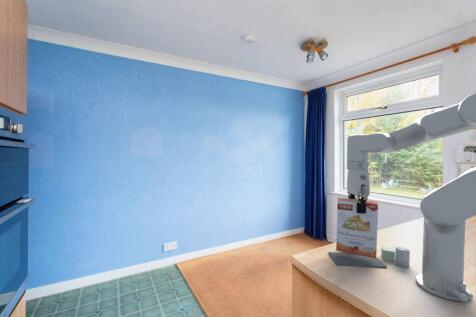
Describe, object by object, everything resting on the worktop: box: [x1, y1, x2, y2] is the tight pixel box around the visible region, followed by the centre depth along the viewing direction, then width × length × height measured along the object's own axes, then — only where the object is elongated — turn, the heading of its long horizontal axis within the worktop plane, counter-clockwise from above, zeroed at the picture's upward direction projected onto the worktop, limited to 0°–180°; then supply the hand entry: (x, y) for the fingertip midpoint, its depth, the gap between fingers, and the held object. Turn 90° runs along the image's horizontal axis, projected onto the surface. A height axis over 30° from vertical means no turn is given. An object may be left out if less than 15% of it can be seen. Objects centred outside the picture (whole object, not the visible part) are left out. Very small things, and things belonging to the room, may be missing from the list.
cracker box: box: [335, 197, 379, 258], centre depth 87 cm, size 14×6×21 cm, turn 63°
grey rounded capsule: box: [394, 246, 411, 269], centre depth 84 cm, size 4×4×6 cm
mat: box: [328, 251, 388, 269], centre depth 87 cm, size 10×18×1 cm, turn 84°
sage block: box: [380, 246, 395, 263], centre depth 89 cm, size 4×4×4 cm
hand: (356, 210), depth 87 cm, fingers closed on cracker box, 7 cm apart
